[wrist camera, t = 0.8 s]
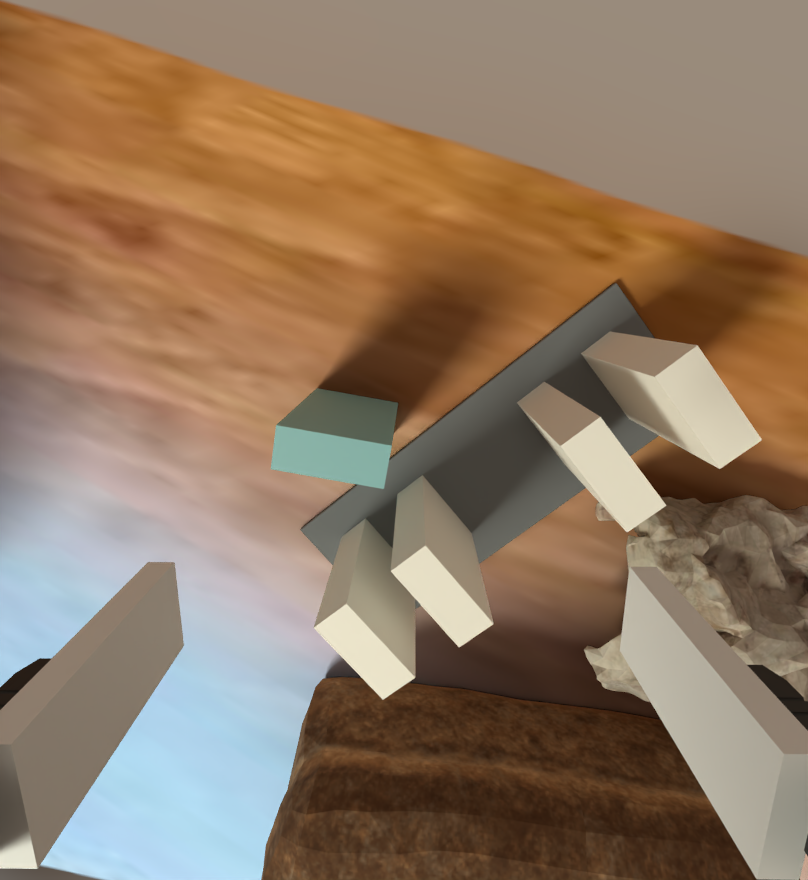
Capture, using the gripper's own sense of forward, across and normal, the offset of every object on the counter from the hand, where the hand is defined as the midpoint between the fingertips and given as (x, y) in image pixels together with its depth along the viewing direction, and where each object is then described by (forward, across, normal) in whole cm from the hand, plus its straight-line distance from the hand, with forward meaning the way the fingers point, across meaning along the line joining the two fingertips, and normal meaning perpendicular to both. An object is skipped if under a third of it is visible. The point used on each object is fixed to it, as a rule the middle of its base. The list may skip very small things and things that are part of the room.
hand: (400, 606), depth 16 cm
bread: (+19, +7, -26) cm, 33 cm away
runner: (+18, +5, -2) cm, 19 cm away
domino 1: (+18, -2, -7) cm, 20 cm away
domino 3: (+18, +9, +1) cm, 20 cm away
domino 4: (+18, +12, +4) cm, 22 cm away
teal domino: (+18, -3, +2) cm, 19 cm away
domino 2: (+18, +2, -4) cm, 19 cm away
